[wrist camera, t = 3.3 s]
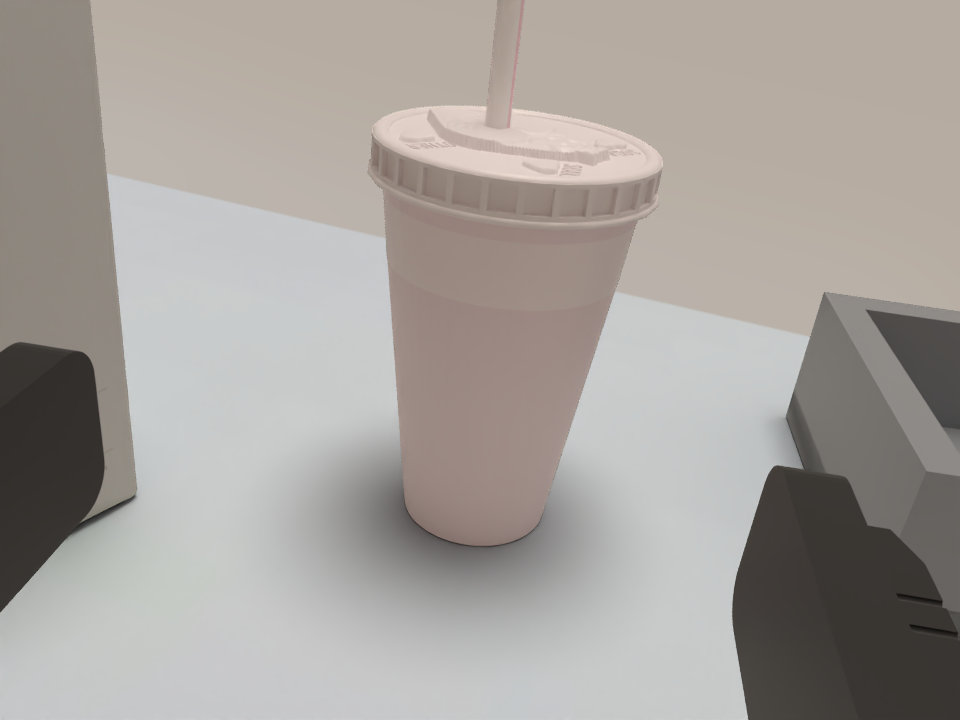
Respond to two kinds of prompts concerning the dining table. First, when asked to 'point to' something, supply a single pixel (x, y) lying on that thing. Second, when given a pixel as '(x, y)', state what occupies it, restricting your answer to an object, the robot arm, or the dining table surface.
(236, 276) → the dining table surface
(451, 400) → the smoothie
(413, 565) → the dining table surface
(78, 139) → the supplement box
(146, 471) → the dining table surface
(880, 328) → the box
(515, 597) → the dining table surface
